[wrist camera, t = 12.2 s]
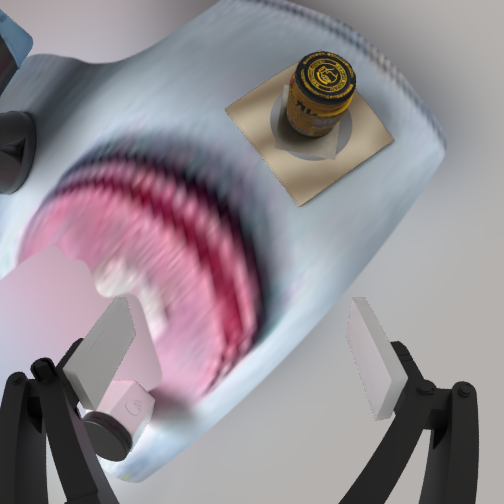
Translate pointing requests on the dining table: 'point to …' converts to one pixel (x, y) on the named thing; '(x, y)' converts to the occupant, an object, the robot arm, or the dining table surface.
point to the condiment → (315, 105)
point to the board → (297, 164)
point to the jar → (119, 419)
